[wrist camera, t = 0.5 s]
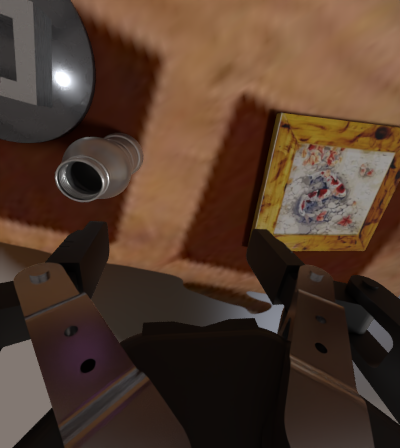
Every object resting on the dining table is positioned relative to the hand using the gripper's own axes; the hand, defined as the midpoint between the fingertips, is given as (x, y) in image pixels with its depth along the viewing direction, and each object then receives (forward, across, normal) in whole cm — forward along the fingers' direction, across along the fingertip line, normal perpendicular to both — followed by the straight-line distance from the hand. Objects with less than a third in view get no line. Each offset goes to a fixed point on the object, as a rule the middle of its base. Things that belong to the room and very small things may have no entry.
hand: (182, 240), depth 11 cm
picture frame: (+29, -33, +3) cm, 44 cm away
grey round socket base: (+28, +22, -12) cm, 38 cm away
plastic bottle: (+28, +8, 0) cm, 29 cm away
